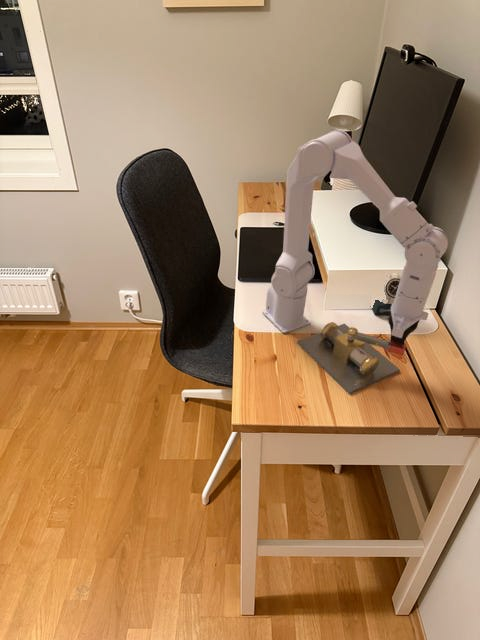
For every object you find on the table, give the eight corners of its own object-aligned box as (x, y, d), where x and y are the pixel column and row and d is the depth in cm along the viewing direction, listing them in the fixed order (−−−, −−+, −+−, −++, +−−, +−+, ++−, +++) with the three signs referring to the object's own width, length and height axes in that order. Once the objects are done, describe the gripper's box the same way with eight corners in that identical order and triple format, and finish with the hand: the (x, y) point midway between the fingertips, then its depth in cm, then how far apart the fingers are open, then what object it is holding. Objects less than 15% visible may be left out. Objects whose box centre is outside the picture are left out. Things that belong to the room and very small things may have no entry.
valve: (296, 342, 103) (299, 326, 100) (344, 325, 109) (347, 309, 106) (349, 394, 91) (354, 377, 88) (399, 371, 97) (405, 354, 94)
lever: (345, 340, 97) (347, 331, 95) (347, 335, 98) (349, 326, 97) (402, 358, 93) (405, 349, 91) (403, 352, 94) (406, 343, 93)
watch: (377, 320, 111) (387, 282, 104) (368, 301, 118) (377, 264, 111) (399, 320, 112) (411, 282, 105) (389, 301, 118) (400, 265, 111)
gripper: (427, 316, 80) (407, 372, 88) (441, 279, 90) (422, 332, 99) (387, 304, 83) (372, 359, 91) (405, 269, 93) (390, 321, 101)
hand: (395, 344), depth 95 cm, fingers closed
